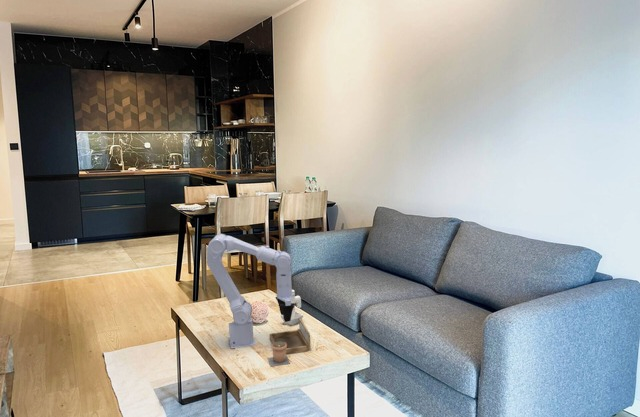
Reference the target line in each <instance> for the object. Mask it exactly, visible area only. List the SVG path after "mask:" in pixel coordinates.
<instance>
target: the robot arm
mask: <svg viewBox="0 0 640 417" xmlns="http://www.w3.org/2000/svg"><path fill="white" fill-rule="evenodd" d="M235 250H236V251H239V252H241V253H246V254H250V255H251V256H252V255H253V256H255V257H256V260H258V261H259V262H263V263H265V264H268V265H271V266H275V268H276V272H275V273H276V274H275V275H276V296H275V299H276V302H277V304H278V307H279V308H278V309H279V313H280V315H283V317H284V321H285V322H288V321H290V320H291V315H292V311H293V308H294V306H295V307H296V305H295V304H296V303H295V304H294V303H291V299H292V297H293V296H294V297H295V296H296V293H295V294H294V293H292V290H293V286H292V284H293V283H292V271H291V269H292V267H291V265H292V264H291V263H292V262H291V261H292V257H291V255H290V253H288V252H286V251H285V250H284V251H281V250H280V249H278V250H276V249H273V248H270V246H269V245H268V244H266V245H261V246H259V247H257V246H255V245H253V244H252V243H248V242H245V241H243V240H241V239H239V238H236V237H234V236H231V235H226V234H225V233H218V234H216V235H215V236H213V238H212V239H211V240H210V241H209V243H208V244H207V247H206V264H207V267H208V268H209V270H210V272H211V273H212V275H213V278H214V279H215V281H216V282H217V283H218V284H217V285H218V286H219V287H220V289H221V291H222V292H223V295H224V296H225V297H226V299H227V301H228V302H229V307H230V311H231V314H232V320H233V321H232V322H230V323H228V336H229V337H228V342H229V346H230V349H231V350H232V349H236V348H242V347H243V348H244V347H250V346H256V345H257V343H256V341H255V337H254V326H253V325H254V324H253V318H252V316H251V315H252V312H253V306H252V304H251V303H250V302H249V301H247V300H246V298H245V297H244V296H242V294H241V292H240V291H239V289H238V287H237V286H236V285H235V283H234V281H233V279H232V278H231V276H230V273H229V272H228V271H227V268H226V267H225V266H224V263H223V262H222V259H223V256H224V253H225V251H226V252H228V253H229V252H231V251H232V252H233V251H235ZM284 321H283V322H284ZM285 322H284V323H285Z"/></svg>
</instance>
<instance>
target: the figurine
mask: <svg viewBox="0 0 640 417" xmlns="http://www.w3.org/2000/svg"><path fill="white" fill-rule="evenodd" d="M292 293H294V294H295V296H293V297H292V299H291V303H294V304H296V305H295V306H294V308H293V311H292V315H291V320H290V321H288V322H285V321H284V317H283V315H281V314H280V318H281V319H282V322H284V324H285V325H288V326H294V325H299V318H301V320H302V321H303V318H304V314H301V313H299V312H296V308H298V309H301V308H302V298H301V296H300V295H296V293H295V290H294V289H292Z"/></svg>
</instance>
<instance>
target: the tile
mask: <svg viewBox="0 0 640 417" xmlns="http://www.w3.org/2000/svg"><path fill="white" fill-rule="evenodd" d="M267 360H268V363H269V366H270V367H278V366H286V365H291V362H290V359H289V357H288V354H287V355H286V361H285V362H282V363H276V362H274V361H273V356H272V357H267Z"/></svg>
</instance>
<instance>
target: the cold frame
mask: <svg viewBox="0 0 640 417" xmlns="http://www.w3.org/2000/svg"><path fill="white" fill-rule="evenodd" d="M269 340H270V343H271V345H272V344H273V343H275V342H285V343H286V344H287V348H286V355H287V356H288V355H293V354H301V353H307V352H309V351H308V343H307V342H306V340H305V338H304V336H303V335H302V333H301V331H300V330H299V328H297V330H295V329H294V330H289V331H279V332H273V333H269ZM311 349H312V347H311V345H310V351H312V350H311Z"/></svg>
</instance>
